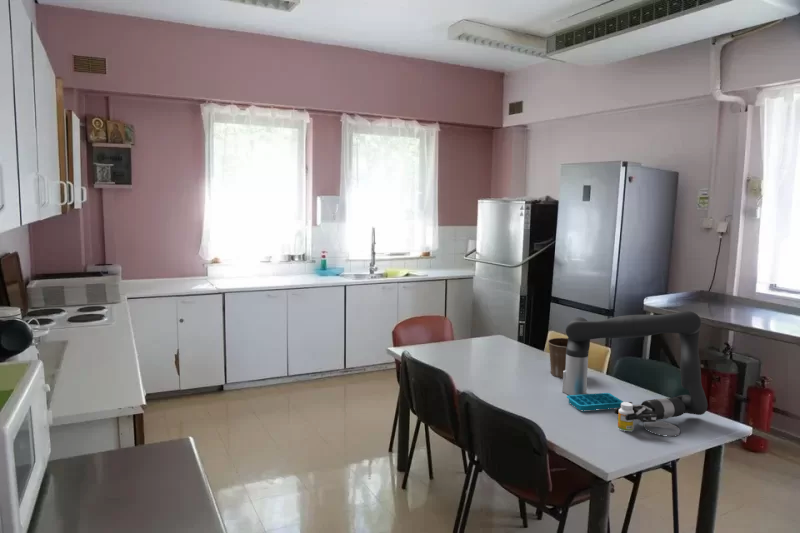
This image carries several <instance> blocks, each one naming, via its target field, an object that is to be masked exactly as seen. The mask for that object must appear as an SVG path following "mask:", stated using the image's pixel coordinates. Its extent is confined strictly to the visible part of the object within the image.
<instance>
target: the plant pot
mask: <svg viewBox="0 0 800 533" xmlns="http://www.w3.org/2000/svg"><path fill="white" fill-rule="evenodd" d="M547 344H548V350H549V361H550V363H549V364H550V374H551V376H553V377H556V378H559V379H560V378H561V379H563V371H564V370H565V366H566V348H567V344H568V337H567V338H566V337H554V338H550V339H548V340H547Z"/></svg>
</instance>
